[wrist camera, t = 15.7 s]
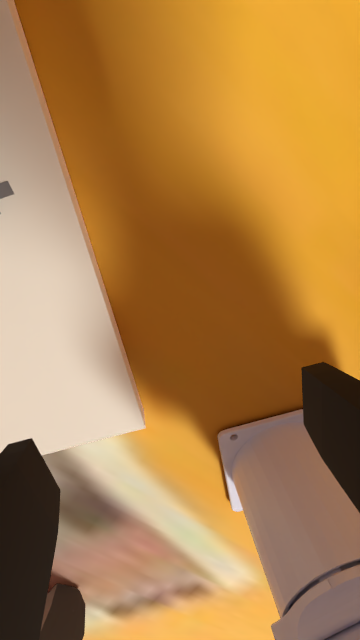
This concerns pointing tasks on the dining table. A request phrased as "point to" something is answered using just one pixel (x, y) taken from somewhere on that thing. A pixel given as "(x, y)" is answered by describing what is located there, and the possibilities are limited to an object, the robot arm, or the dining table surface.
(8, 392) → the marked board
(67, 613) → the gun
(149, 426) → the dining table surface
